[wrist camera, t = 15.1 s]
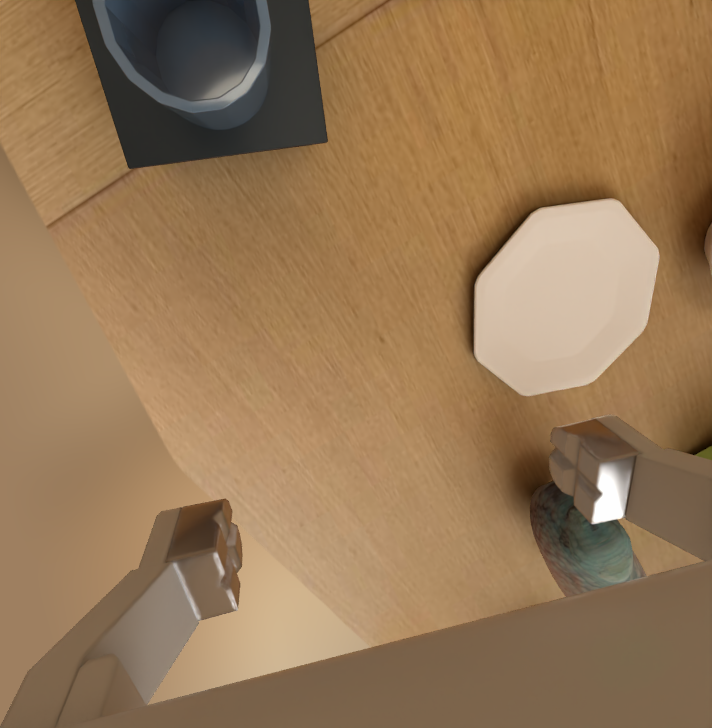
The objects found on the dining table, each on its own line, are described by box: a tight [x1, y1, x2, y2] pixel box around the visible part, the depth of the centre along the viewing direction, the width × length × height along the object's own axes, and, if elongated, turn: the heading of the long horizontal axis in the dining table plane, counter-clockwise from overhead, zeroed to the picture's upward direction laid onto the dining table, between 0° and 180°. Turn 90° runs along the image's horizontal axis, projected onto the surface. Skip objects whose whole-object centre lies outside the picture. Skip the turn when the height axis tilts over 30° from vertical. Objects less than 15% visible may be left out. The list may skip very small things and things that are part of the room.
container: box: [75, 0, 328, 169], centre depth 29 cm, size 13×10×8 cm
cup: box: [92, 0, 271, 130], centre depth 21 cm, size 7×7×9 cm
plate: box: [473, 198, 660, 396], centre depth 44 cm, size 20×20×2 cm
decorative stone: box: [530, 481, 646, 597], centre depth 48 cm, size 21×9×20 cm, turn 28°
